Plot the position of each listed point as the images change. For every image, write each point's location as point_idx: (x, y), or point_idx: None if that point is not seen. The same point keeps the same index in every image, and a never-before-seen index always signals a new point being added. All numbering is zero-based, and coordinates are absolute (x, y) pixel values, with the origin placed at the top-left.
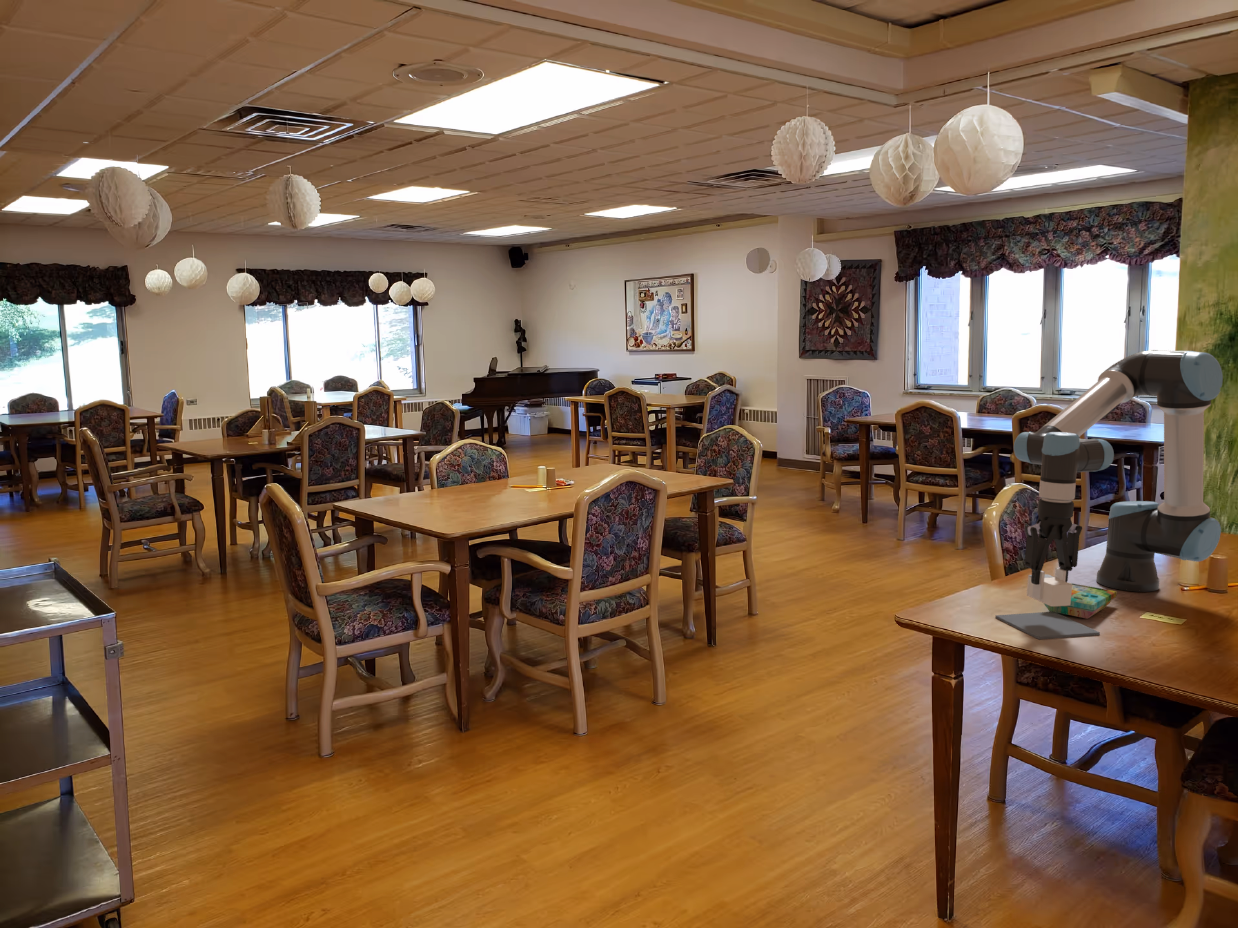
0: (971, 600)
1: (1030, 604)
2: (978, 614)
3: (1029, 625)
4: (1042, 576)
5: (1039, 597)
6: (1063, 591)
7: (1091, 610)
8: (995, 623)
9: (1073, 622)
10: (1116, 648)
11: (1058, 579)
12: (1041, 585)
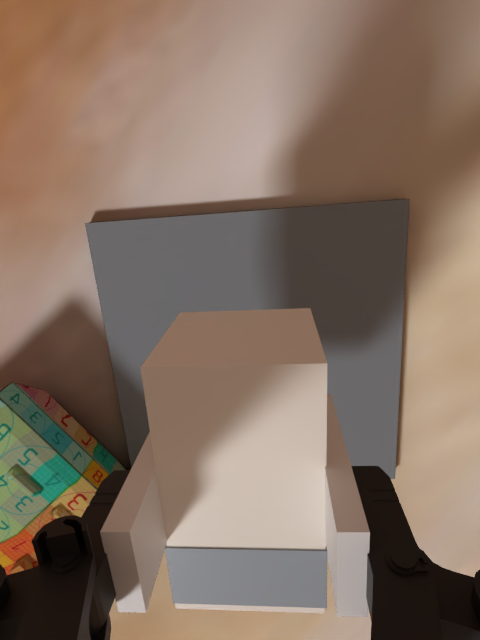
0: (344, 634)
1: (159, 569)
2: (430, 513)
3: (341, 349)
4: (350, 498)
5: (332, 402)
6: (223, 344)
7: (19, 388)
8: (441, 415)
9: (128, 357)
10: (115, 22)
11: (169, 496)
12: (340, 447)
